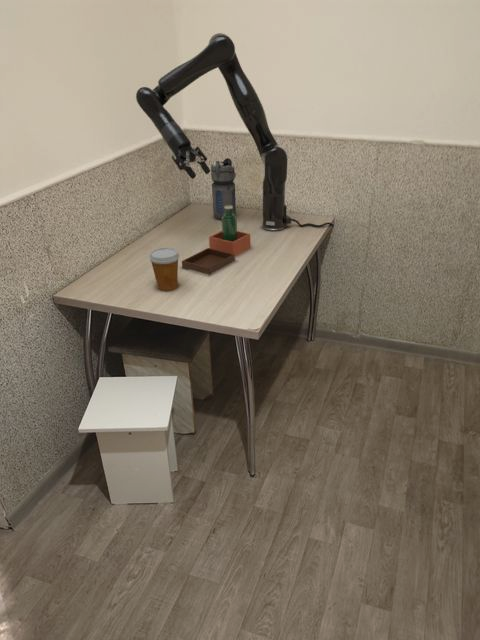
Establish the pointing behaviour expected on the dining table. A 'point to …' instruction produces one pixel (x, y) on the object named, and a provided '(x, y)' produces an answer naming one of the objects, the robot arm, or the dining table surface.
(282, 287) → the dining table surface
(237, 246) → the bin
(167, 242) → the dining table surface
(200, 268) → the tray
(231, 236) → the bottle
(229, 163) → the beverage bottle
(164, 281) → the disposable coffee cup
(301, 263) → the dining table surface
